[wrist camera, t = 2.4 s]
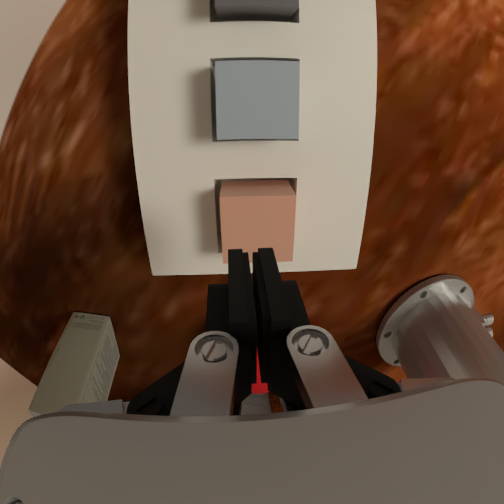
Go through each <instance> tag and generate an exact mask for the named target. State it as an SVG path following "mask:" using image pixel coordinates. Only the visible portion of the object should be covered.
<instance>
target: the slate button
mask: <svg viewBox="0 0 504 504" xmlns="http://www.w3.org/2000/svg"><path fill="white" fill-rule="evenodd" d="M299 82H300V62H298V61H276V60H230V61H215V87H216V125H217V140H228V139H298V138H299Z"/></svg>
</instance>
